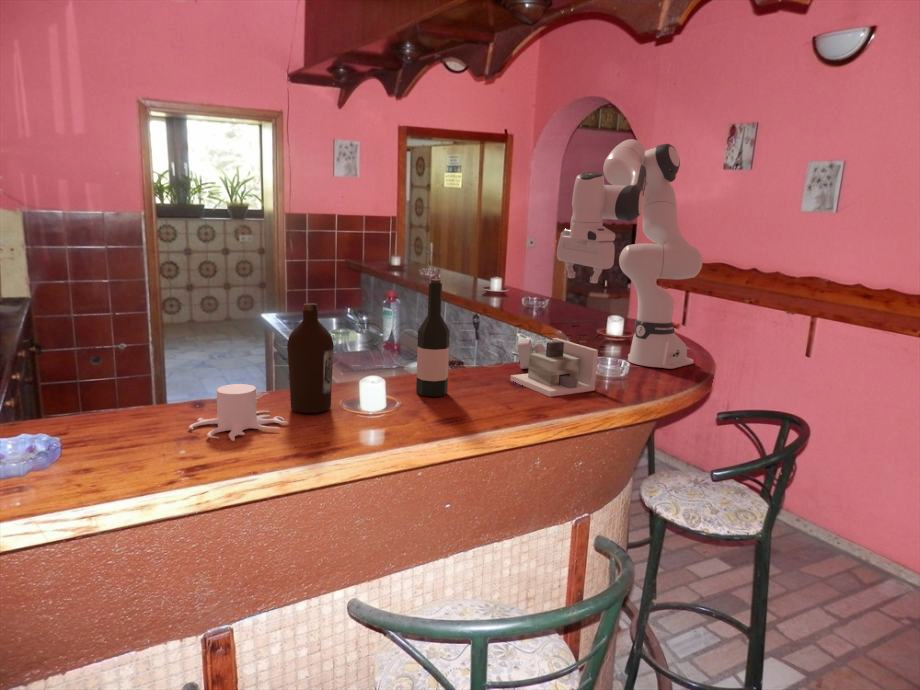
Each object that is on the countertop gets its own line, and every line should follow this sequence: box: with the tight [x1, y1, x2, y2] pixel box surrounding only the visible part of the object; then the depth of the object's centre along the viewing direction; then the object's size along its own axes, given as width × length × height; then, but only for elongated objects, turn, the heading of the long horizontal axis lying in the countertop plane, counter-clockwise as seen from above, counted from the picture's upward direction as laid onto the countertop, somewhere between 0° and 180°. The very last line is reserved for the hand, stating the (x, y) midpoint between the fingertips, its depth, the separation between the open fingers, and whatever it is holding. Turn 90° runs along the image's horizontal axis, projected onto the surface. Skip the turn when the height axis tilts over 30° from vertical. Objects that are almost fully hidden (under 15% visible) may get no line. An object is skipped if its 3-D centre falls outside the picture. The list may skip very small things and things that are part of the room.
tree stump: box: [188, 383, 289, 442], centre depth 143 cm, size 20×19×8 cm
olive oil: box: [286, 302, 335, 414], centre depth 153 cm, size 11×11×25 cm
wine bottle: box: [415, 278, 450, 398], centre depth 169 cm, size 8×8×30 cm
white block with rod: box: [517, 338, 546, 370], centre depth 201 cm, size 8×10×10 cm
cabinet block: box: [527, 341, 580, 386], centre depth 183 cm, size 10×10×11 cm
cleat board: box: [510, 337, 599, 398], centre depth 183 cm, size 16×18×12 cm
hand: (582, 280), depth 187 cm, fingers open, 8 cm apart
